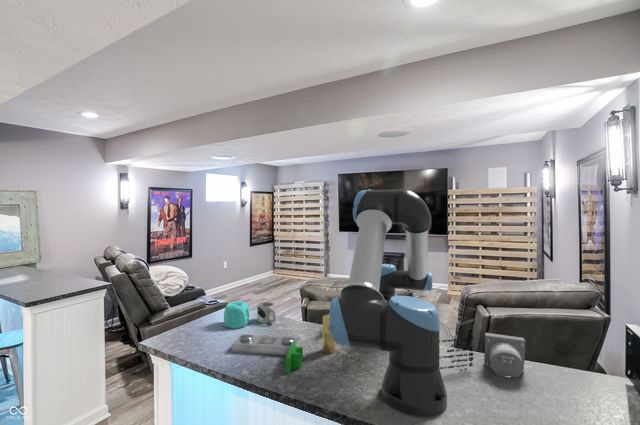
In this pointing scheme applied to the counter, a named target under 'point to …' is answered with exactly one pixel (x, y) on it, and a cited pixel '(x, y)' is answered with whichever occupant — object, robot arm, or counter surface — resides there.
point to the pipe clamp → (294, 358)
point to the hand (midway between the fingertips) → (345, 322)
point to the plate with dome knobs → (264, 344)
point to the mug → (266, 313)
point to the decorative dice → (236, 314)
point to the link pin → (327, 337)
